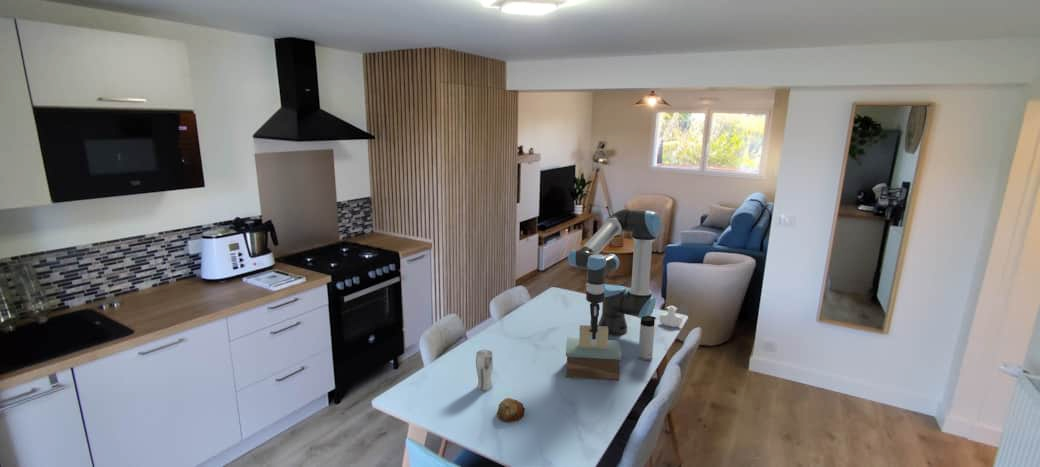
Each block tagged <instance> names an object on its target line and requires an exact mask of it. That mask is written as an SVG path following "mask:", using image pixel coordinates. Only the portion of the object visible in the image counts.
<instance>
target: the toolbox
mask: <svg viewBox="0 0 1040 467" xmlns="http://www.w3.org/2000/svg"><path fill="white" fill-rule="evenodd" d="M620 369H621V360H619V359H602V358H585V357H568V356H566V378H568V379H581V380H585V379H586V380H595V381H596V380H600V381H612V382H613V381H616V382H619V381H620V371H621V370H620Z"/></svg>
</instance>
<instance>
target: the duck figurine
mask: <svg viewBox="0 0 1040 467" xmlns="http://www.w3.org/2000/svg"><path fill="white" fill-rule="evenodd" d="M666 309H667V312H668V313H666V312H665V313H662V314H660V315H659V318H658V319H659V322H660V324H662V325H664V326H665V327H672V328H675V327H676V328H677V327H678V328H679V327H681V325H682V323H683V317H681V316H680V315H678V314H675V313H676V312H677V310H678V308H677V307H676V306H675V305H669V306H666Z"/></svg>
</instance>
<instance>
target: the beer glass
mask: <svg viewBox="0 0 1040 467" xmlns="http://www.w3.org/2000/svg"><path fill="white" fill-rule="evenodd" d="M493 355H494V353H493V351H491V350H489V349H480V350H478V351H477V352H475V370H476V373H477V381H478V382H477V390H479V391H481V392H488V391H490V390H492V388H493V382H492V376H493V375H492V374H493V369H494V368H493V367H494V356H493Z"/></svg>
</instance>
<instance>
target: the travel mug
mask: <svg viewBox="0 0 1040 467" xmlns="http://www.w3.org/2000/svg"><path fill="white" fill-rule="evenodd" d="M656 320H657V317H656V316H652V315H651V316H643V317H642V318H640V326H639V340H638V342H639V343H638V358H639V359H640V360H642V361H651V360H653V356H654V355H653V353H654V352H653V351H654V338H655V325H656V324H655V322H656Z"/></svg>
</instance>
